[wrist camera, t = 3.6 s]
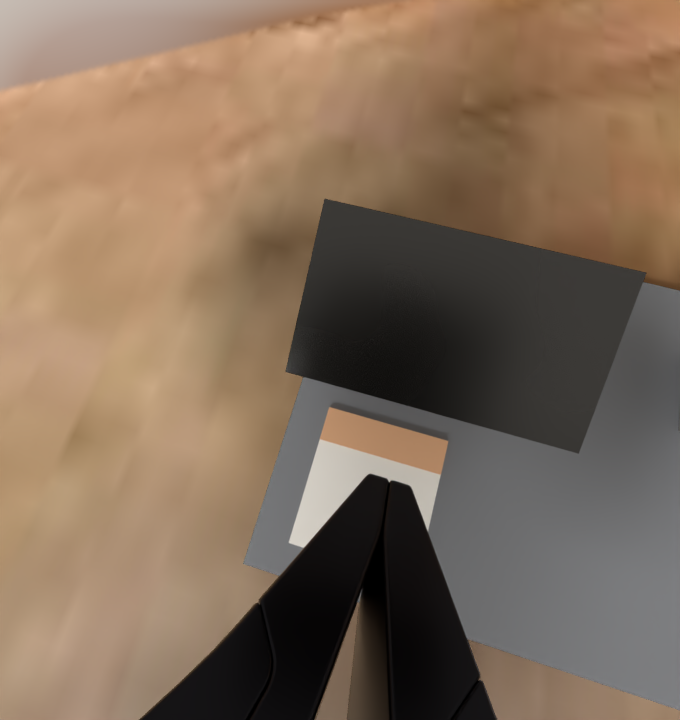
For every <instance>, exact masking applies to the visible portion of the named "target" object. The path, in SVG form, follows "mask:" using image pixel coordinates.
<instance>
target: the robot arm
mask: <svg viewBox="0 0 680 720" xmlns="http://www.w3.org/2000/svg"><path fill="white" fill-rule="evenodd" d="M360 593H361V595H360ZM359 596H360V602H359V610H358V620H357V629H356V638H355V648H354V657H353V667H352V676H351V685H350V695H349V704H348V714H347V720H497V718H496V716H495V713H494V710H493V708H492V705H491V702H490V699H489V697H488V694H487V691H486V688H485V686H484V683H483V682H482V681H481V680H479V679H480V672H479V670H478V667H477V664H476V662H475V659H474V656H473V653H472V651H471V648H470V645H469V642H468V640H467V637H466V634H465V632H464V629H463V626H462V623H461V621H460V618H459V615H458V612H457V610H456V607H455V604H454V602H453V599H452V596H451V593H450V591H449V588H448V585H447V582H446V580H445V577H444V574H443V572H442V569H441V566H440V563H439V561H438V558H437V555H436V552H435V550H434V547H433V544H432V542H431V539H430V536H429V533H428V531H427V528H426V525H425V522H424V520H423V517H422V514H421V512H420V509H419V506H418V503H417V501H416V498H415V495H414V492H413V490H412V488H411V486H409V485H407V484H404V483H401V482H398V481H394V480H392V481H390V482H389V481H388V479H387V478H384V477H381V476H378V475H374V474H368V475H367V476H366V477H365V478H364V479H363V480H362V481H361V482H360V484H359V485H358V486H357V487H356V488H355V489H354V490H353V492H352V493H351V494H350V495H349V496H348V497H347V499H346V500H345V501H344V502H343V503H342V504H341V505H340V507H339V508H338V509H337V510H336V511H335V512H334V514H333V515H332V516H331V517H330V518H329V519H328V520H327V522H326V523H325V524H324V525H323V526H322V527H321V529H320V530H319V531H318V532H317V533H316V534H315V535H314V537H313V538H312V539H311V540H310V541H309V542H308V544H307V545H306V546H305V547H304V548H303V549H302V550H301V552H300V553H299V554H298V555H297V556H296V557H295V559H294V560H293V561H292V562H291V563H290V564H289V565H288V567H287V568H286V569H285V570H284V571H283V572H282V574H281V575H280V576H279V577H278V578H277V579H276V580H275V582H274V583H273V584H272V585H271V586H270V587H269V589H268V590H267V591H266V592H265V593H264V594H263V595H262V597H261V598H260V599H259V602H258V603H256V604H254V605H253V607H252V608H251V609H250V610H249V611H248V612H247V613H246V615H245V616H244V617H243V618H242V619H241V620H240V622H239V623H238V624H237V625H236V626H235V627H234V628H233V629H232V630H231V631H230V632H229V633H228V635H227V636H226V637H225V638H224V639H223V640H222V641H221V642H220V643H219V644H218V645H217V646H216V648H215V649H214V650H213V651H212V652H211V653H210V654H209V655H208V656H207V657H206V658H205V659H203V660H202V661H201V662H200V663H199V664H198V665H197V666H196V667H195V668H194V669H193V670H192V671H191V672H190V673H189V674H188V675H187V676H186V677H185V678H184V679H183V680H182V681H181V682H180V683H179V684H178V685H176V686H175V687H174V688H173V689H172V690H171V691H170V692H169V693H168V694H167V695H166V696H164V697H163V698H162V699H161V700H160V701H159V702H158V703H157V704H156V705H155V706H154V707H152V708H151V709H150V710H149V711H148V712H147V713H146V714H145V715H144V716H143V717H142V718H140V719H139V720H316V717H317V714H318V711H319V709H320V706H321V703H322V700H323V697H324V695H325V692H326V689H327V686H328V683H329V680H330V678H331V675H332V672H333V669H334V666H335V664H336V661H337V658H338V655H339V652H340V649H341V647H342V644H343V641H344V638H345V635H346V633H347V630H348V627H349V624H350V621H351V618H352V616H353V613H354V610H355V607H356V604H357V601H358V599H359ZM478 680H479V681H478Z"/></svg>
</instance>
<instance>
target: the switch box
mask: <svg viewBox="0 0 680 720" xmlns="http://www.w3.org/2000/svg"><path fill="white" fill-rule="evenodd" d="M368 474H374V475H378V476H381V477H384V478H387V479H388V481H389V482H390V481H392V480H394V481H398V482H401V483H404V484H407V485H409V486H411V488H412V490H413V492H414V495H415V498H416V501H417V503H418V506H419V509H420V512H421V514H422V517H423V520H424V522H425V525H426V528H427V531H428V533H429V536H430V539H431V542H432V544H433V547H434V550H435V552H436V555H437V558H438V561H439V563H440V566H441V569H442V572H443V574H444V577H445V580H446V582H447V585H448V588H449V591H450V593H451V596H452V599H453V602H454V604H455V607H456V610H457V612H458V615H459V618H460V621H461V623H462V626H463V629H464V632H465V634H466V637H467V639H469V640H472V641H475V642H478V643H481V644H484V645H487V646H490V647H493V648H496V649H499V650H502V651H505V652H508V653H511V654H514V655H517V656H520V657H523V658H526V659H529V660H531V661H534V662H537V663H540V664H543V665H546V666H549V667H552V668H555V669H558V670H561V671H564V672H567V673H570V674H573V675H576V676H579V677H582V678H585V679H588V680H591V681H594V682H597V683H600V684H603V685H606V686H609V687H612V688H615V689H618V690H621V691H624V692H627V693H630V694H633V695H636V696H639V697H642V698H645V699H648V700H651V701H654V702H657V703H660V704H663V705H666V706H669V707H672V708H675V709H677V710H680V291H679V290H675V289H671V288H666V287H662V286H658V285H654V284H649V283H645V282H643V283H642V286H641V289H640V291H639V294H638V297H637V299H636V302H635V305H634V307H633V310H632V313H631V315H630V318H629V321H628V323H627V326H626V329H625V332H624V334H623V337H622V340H621V342H620V345H619V348H618V350H617V353H616V356H615V358H614V361H613V364H612V366H611V369H610V372H609V374H608V377H607V380H606V382H605V385H604V388H603V390H602V393H601V396H600V398H599V401H598V404H597V406H596V409H595V412H594V414H593V417H592V420H591V422H590V425H589V428H588V430H587V433H586V436H585V438H584V441H583V444H582V446H581V449H580V452H579V454H578V453H574V452H571V451H567V450H563V449H560V448H556V447H553V446H549V445H546V444H542V443H538V442H535V441H531V440H528V439H524V438H521V437H517V436H513V435H510V434H506V433H503V432H499V431H496V430H492V429H488V428H485V427H481V426H478V425H474V424H470V423H467V422H463V421H460V420H456V419H453V418H449V417H445V416H442V415H438V414H435V413H431V412H428V411H424V410H420V409H417V408H413V407H410V406H406V405H403V404H399V403H395V402H392V401H388V400H385V399H381V398H377V397H374V396H370V395H367V394H363V393H360V392H356V391H352V390H349V389H345V388H342V387H338V386H335V385H331V384H327V383H324V382H320V381H317V380H313V379H310V378H306V377H303V379H302V383H301V386H300V389H299V392H298V395H297V398H296V401H295V404H294V407H293V410H292V414H291V417H290V420H289V423H288V426H287V429H286V432H285V435H284V438H283V442H282V445H281V448H280V451H279V454H278V457H277V460H276V463H275V466H274V469H273V473H272V476H271V479H270V482H269V485H268V488H267V491H266V494H265V497H264V501H263V504H262V507H261V510H260V513H259V516H258V519H257V522H256V525H255V528H254V532H253V535H252V538H251V541H250V544H249V547H248V550H247V553H246V556H245V560H244V563H243V564H245V565H248V566H251V567H254V568H257V569H260V570H263V571H266V572H269V573H272V574H275V575H278V576H280V575H281V574H282V572H283V571H284V570H285V569H286V568H287V567H288V565H289V564H290V563H291V562H292V561H293V560H294V559H295V557H296V556H297V555H298V554H299V553H300V552H301V550H302V549H303V548H304V547H305V546H306V545H307V544H308V542H309V541H310V540H311V539H312V538H313V537H314V535H315V534H316V533H317V532H318V531H319V530H320V529H321V527H322V526H323V525H324V524H325V523H326V522H327V520H328V519H329V518H330V517H331V516H332V515H333V514H334V512H335V511H336V510H337V509H338V508H339V507H340V505H341V504H342V503H343V502H344V501H345V500H346V499H347V497H348V496H349V495H350V494H351V493H352V492H353V490H354V489H355V488H356V487H357V486H358V485H359V484H360V482H361V481H362V480H363V479H364V478H365V477H366V476H367V475H368ZM360 595H361V593H360ZM357 602H360V596H359V599H358V601H357Z"/></svg>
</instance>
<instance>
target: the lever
mask: <svg viewBox="0 0 680 720" xmlns="http://www.w3.org/2000/svg"><path fill="white" fill-rule="evenodd" d="M645 275H646V273H645V272H641V271H636V270H632V269H628V268H623V267H619V266H615V265H610V264H606V263H602V262H597V261H593V260H589V259H584V258H580V257H576V256H571V255H567V254H563V253H558V252H554V251H550V250H545V249H541V248H536V247H532V246H528V245H523V244H519V243H515V242H510V241H506V240H502V239H497V238H493V237H489V236H484V235H480V234H476V233H471V232H467V231H463V230H458V229H454V228H450V227H445V226H441V225H437V224H432V223H428V222H423V221H419V220H415V219H410V218H406V217H402V216H397V215H393V214H389V213H384V212H380V211H376V210H371V209H367V208H363V207H358V206H354V205H350V204H345V203H341V202H337V201H332V200H328V199H324V204H323V208H322V213H321V217H320V221H319V226H318V230H317V235H316V239H315V243H314V248H313V252H312V257H311V261H310V266H309V270H308V274H307V279H306V283H305V288H304V292H303V296H302V301H301V305H300V310H299V314H298V318H297V323H296V327H295V332H294V336H293V341H292V345H291V349H290V354H289V358H288V363H287V367H286V371H285V372H288V373H292V374H295V375H299V376H302V377H306V378H310V379H313V380H317V381H320V382H324V383H327V384H331V385H335V386H338V387H342V388H345V389H349V390H352V391H356V392H360V393H363V394H367V395H370V396H374V397H377V398H381V399H385V400H388V401H392V402H395V403H399V404H403V405H406V406H410V407H413V408H417V409H420V410H424V411H428V412H431V413H435V414H438V415H442V416H445V417H449V418H453V419H456V420H460V421H463V422H467V423H470V424H474V425H478V426H481V427H485V428H488V429H492V430H496V431H499V432H503V433H506V434H510V435H513V436H517V437H521V438H524V439H528V440H531V441H535V442H538V443H542V444H546V445H549V446H553V447H556V448H560V449H563V450H567V451H571V452H574V453H578V454H579V452H580V449H581V446H582V444H583V441H584V438H585V436H586V433H587V430H588V428H589V425H590V422H591V420H592V417H593V414H594V412H595V409H596V406H597V404H598V401H599V398H600V396H601V393H602V390H603V388H604V385H605V382H606V380H607V377H608V374H609V372H610V369H611V366H612V364H613V361H614V358H615V356H616V353H617V350H618V348H619V345H620V342H621V340H622V337H623V334H624V332H625V329H626V326H627V323H628V321H629V318H630V315H631V313H632V310H633V307H634V305H635V302H636V299H637V297H638V294H639V291H640V289H641V286H642V283H643V281H644V278H645Z"/></svg>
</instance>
